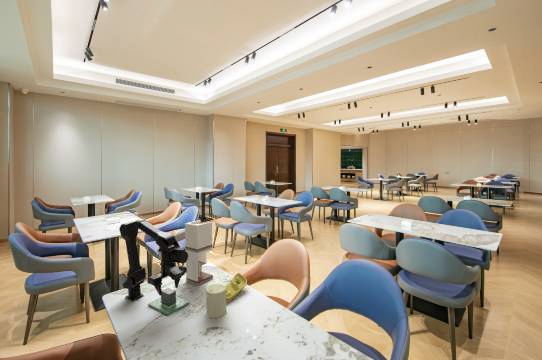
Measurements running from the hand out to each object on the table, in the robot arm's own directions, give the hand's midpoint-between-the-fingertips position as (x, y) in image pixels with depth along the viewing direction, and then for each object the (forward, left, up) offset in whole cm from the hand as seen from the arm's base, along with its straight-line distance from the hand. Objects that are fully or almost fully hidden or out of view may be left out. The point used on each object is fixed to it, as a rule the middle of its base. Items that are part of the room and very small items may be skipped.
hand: (168, 291), depth 130 cm
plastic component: (+18, +26, -7) cm, 32 cm away
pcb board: (0, 0, -7) cm, 7 cm away
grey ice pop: (-2, 0, -6) cm, 6 cm away
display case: (-9, +28, -7) cm, 30 cm away
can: (+25, +8, -7) cm, 27 cm away
